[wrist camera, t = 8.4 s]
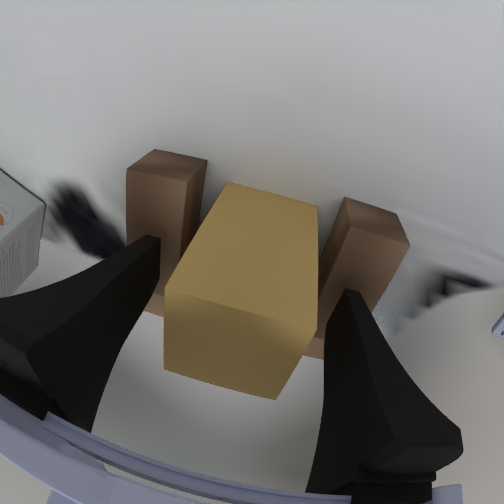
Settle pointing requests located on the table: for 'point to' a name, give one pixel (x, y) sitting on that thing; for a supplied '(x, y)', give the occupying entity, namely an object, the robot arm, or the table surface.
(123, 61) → the table surface
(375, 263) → the notched board
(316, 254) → the ochre block
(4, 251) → the small box
